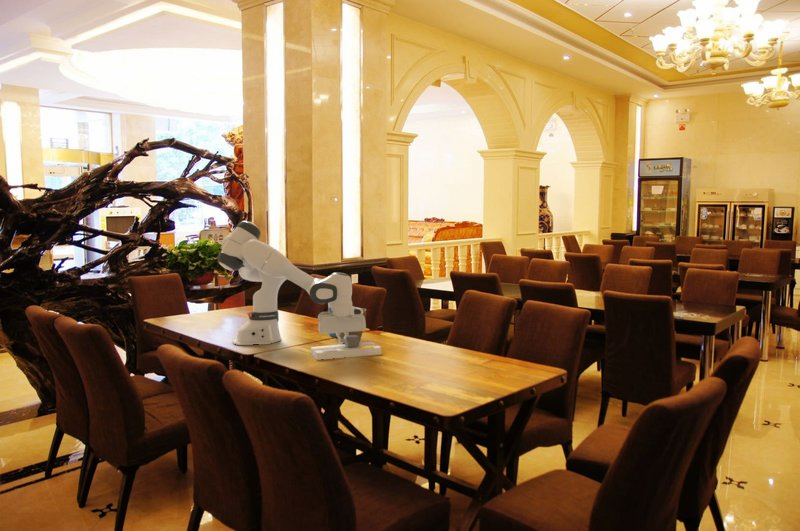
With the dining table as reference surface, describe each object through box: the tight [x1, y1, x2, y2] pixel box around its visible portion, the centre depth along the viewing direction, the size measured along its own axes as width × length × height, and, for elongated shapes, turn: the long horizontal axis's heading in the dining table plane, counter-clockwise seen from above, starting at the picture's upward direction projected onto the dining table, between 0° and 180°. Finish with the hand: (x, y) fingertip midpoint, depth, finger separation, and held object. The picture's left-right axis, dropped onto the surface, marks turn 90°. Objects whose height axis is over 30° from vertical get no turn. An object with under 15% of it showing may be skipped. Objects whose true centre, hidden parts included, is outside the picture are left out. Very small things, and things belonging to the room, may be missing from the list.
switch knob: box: [345, 335, 360, 348], centre depth 266 cm, size 5×5×6 cm
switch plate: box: [310, 341, 382, 361], centre depth 266 cm, size 28×12×3 cm, turn 110°
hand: (342, 342), depth 265 cm, fingers closed
